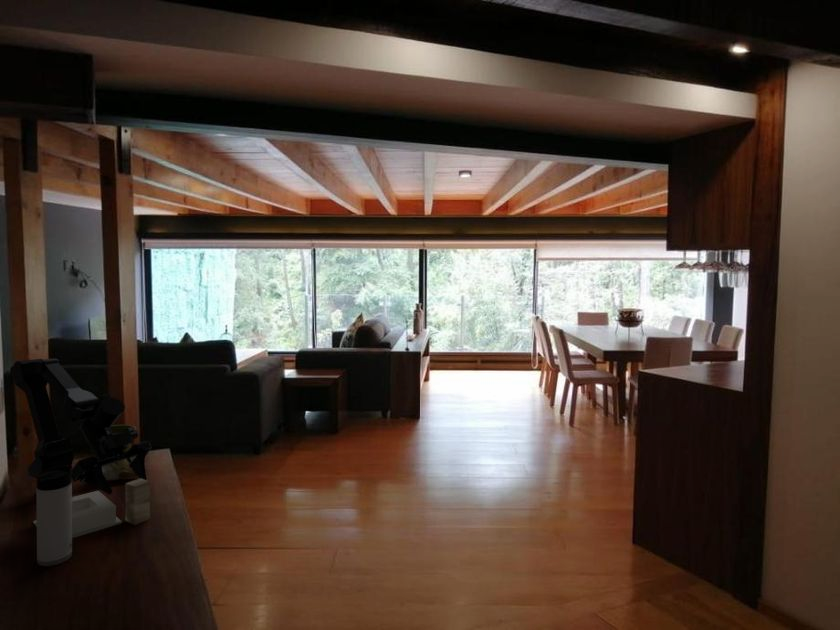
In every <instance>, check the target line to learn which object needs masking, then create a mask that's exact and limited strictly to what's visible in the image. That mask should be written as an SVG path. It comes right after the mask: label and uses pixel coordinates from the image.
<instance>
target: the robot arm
mask: <svg viewBox="0 0 840 630" xmlns="http://www.w3.org/2000/svg"><path fill="white" fill-rule="evenodd" d="M9 373H10V376H11V377H12V379H13V382H14V383H15V386H16V387H17V388H18V389H20V390H21V391H23V392H24V393H25V396H26V400H27V404H28V408H29V412H30V415H31V419H32V422H33V426H34V427H33V428H34V431H35V434H36V437H37V445H36V447H35V449H34V452H33V455H34V459H33V461H32V462H31V464H30V465H29V466H28V467H27V471H28V472H27V473H28V476H29V477H32V478H35V479H37V475H38V474H39V473H41V472H43V471H45V470H47V469H50V468H54V467H60V466H64V465H70V466H72V465H73V461H74V458H75V455H74V449H73V448H72V445H71V440H70V438H67V437H66V438H64V437H63V436H61V435H60V432H59V430H58V428H59V427H58V425H57V422H56V418H55V414H54V411H53V406H52V403H51V399H50V396H49V393H48V389H47V385H49V387H50V388H51V389H52V390H53V391H54V392H55V393H56V394H57V396H58V397H59V398H60V399H61V402H63V403H62V411H63V413H64V414H65V417H66V418H67V419H68V420H69V421H70V422H79V421H83V420H84V421H83V422H82V423H80V424H79V426H78V429H77V433H76V434H77V436H82V435H83V436H84V438H85V440H86V442H87V444H88V445H89V448H88V449H87V450H88V452H89V453H90V454H91V453H93V454H94V455H95V456H90V457H85V458H83V459H79V460H78V461H77V462H76V463H75V465H74V467H73V466H72V469H71V480H72V482H78V481H79V482H80V483H86V484H88V485H90V486H93V487H94V488H97V489H99V491H102V492H104V493H105V494H107V495H112V494H113V490H112V487H111V484H110V483H109V482H108V480H106V478H105V476H104V475H103V473H102V467H103V466H106V465H109V464H112V463H115V462H118V461H122V460H125V459H127V461H128V463H130V465H129V466H130V467H129V468H130V469H132V470H133V471H134V472H135V473H136V475H137V476H136V477H138V479H140V478H142V479H144V480H147V474H146V472H147V471H146V466H145V463H146V460H145V458H146V457H147V456H148V454H149V453H150V451H151V450H152V449H153V447H152V445H151V443H150V442H149V441H146V440H143V441H140V442H138V443H134V442H135V441H134V440H137V439H138V437H139V433H138V430H137V428H136V429H135V428H134V427H130V428H127V429H125V430H124V432H122V433H119V434H118V433H116V432H115V433H112V431H111V430H110V428H109V427H110V426H112V425H115V423H116V422H117V420H119V418H120V416H121V415H122V414H123V412H124V411H125V408H126V406H125V403H124V402H123V401H122V400H120V399H118V398H116V397H112V396H111V394H109V393H108V394H107V393H106V394H102V395H101V396H100V397H99V398H98V397H97V396H96V395H95V394H93V393H92V392H90V391H89V390H88V391H87V390H84V389H82V388H81V387H80V386H79V385H78V383H76V382H75V380H74V379H73V378H72V377H71V375H70V374H69V373H68V372H67V371H66V370H65V369H64V368H63V366H62V363H61V361H60V359H57V358H45V359H43V358H36V359H34V358H33V359H28V360H27V359H26V360H25V359H24V360H17V361H15V362H14V363H13V365H12V366H11V367H10V369H9ZM129 443H131V444H133V443H134V444H133V445H131V448H130V449H129V451H126V452H123V450H124V449H126V448H127V444H129ZM36 492H37V490H36V491H35V493H36ZM35 500H36V501H37V495H36V494H35Z"/></svg>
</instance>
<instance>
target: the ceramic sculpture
mask: <svg viewBox="0 0 840 630" xmlns="http://www.w3.org/2000/svg"><path fill="white" fill-rule="evenodd" d="M130 463H131V462H128V461H127V459H125V460H122V461H118V462H115V463H112V464H109V465H106V466H103V467H102V473H103V475H104V476H105V478H106V480H107V481H109V482H110V481H112V482H113V481H117V480H121V479H132V478H135V477H138V476H137V475H136V473H135V472H134V471H133V470H132V468H131V467H130V466H129V465H130Z"/></svg>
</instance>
